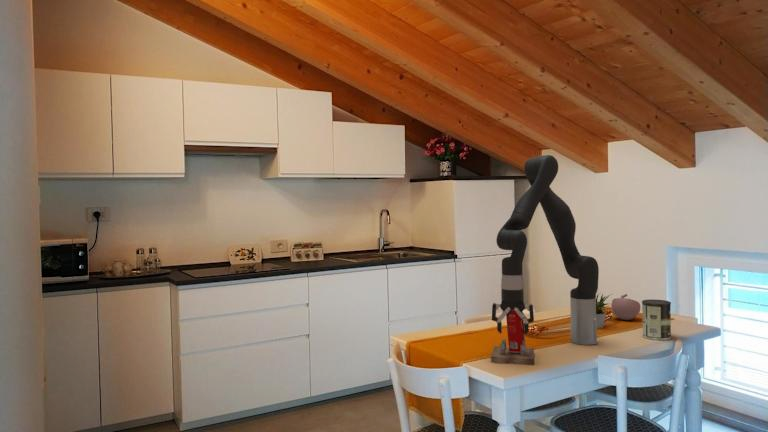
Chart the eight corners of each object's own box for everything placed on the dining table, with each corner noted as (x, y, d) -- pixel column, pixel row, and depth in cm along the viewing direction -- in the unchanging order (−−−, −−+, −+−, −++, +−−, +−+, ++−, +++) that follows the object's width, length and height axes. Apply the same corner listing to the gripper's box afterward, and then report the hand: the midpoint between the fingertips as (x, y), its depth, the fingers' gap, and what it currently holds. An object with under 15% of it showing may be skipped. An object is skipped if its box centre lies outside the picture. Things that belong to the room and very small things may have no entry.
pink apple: (642, 318, 257) (642, 293, 257) (638, 323, 247) (638, 297, 247) (614, 316, 264) (613, 291, 263) (609, 321, 254) (608, 295, 253)
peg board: (534, 353, 203) (534, 338, 203) (533, 364, 190) (533, 348, 190) (494, 351, 207) (494, 336, 207) (491, 362, 194) (491, 346, 194)
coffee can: (666, 334, 227) (666, 299, 227) (674, 340, 217) (674, 304, 217) (639, 333, 230) (639, 299, 229) (645, 340, 219) (645, 303, 219)
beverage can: (526, 353, 195) (525, 310, 195) (506, 353, 196) (506, 309, 197) (525, 350, 201) (524, 307, 201) (506, 349, 202) (505, 307, 202)
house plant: (570, 327, 243) (569, 289, 243) (585, 321, 253) (584, 285, 253) (602, 332, 233) (602, 292, 233) (617, 326, 243) (616, 288, 242)
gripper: (533, 286, 199) (534, 332, 200) (492, 285, 203) (493, 330, 204) (533, 289, 192) (533, 337, 193) (490, 288, 196) (491, 335, 197)
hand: (512, 333), depth 198 cm, fingers open, 8 cm apart
